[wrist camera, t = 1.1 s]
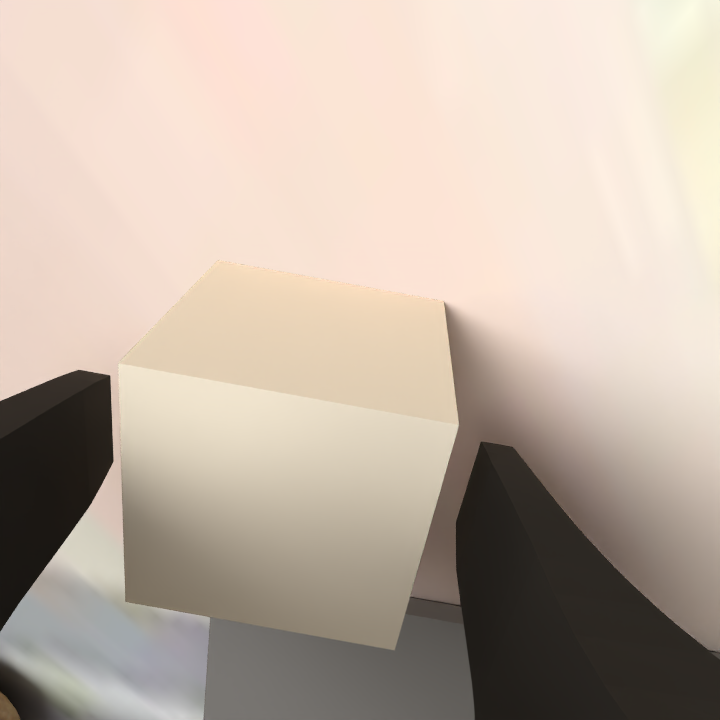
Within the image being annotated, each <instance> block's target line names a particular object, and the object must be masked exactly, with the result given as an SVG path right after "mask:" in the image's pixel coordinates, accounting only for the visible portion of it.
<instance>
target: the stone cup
mask: <svg viewBox="0 0 720 720" xmlns="http://www.w3.org/2000/svg"><path fill="white" fill-rule="evenodd" d="M0 720H20V717H19V715H18V713H17V711H16V709H15V708H14V706H13V705H12V704H11V702H10V701H9V700H8V698H7V697H6V696H5V695H4V694H2V693H1V692H0Z"/></svg>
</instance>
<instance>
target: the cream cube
mask: <svg viewBox="0 0 720 720" xmlns="http://www.w3.org/2000/svg"><path fill="white" fill-rule="evenodd" d="M118 377H119V409H120V441H121V473H122V505H123V537H124V569H125V601H126V602H130V603H135V604H141V605H146V606H152V607H157V608H163V609H168V610H174V611H180V612H185V613H191V614H196V615H202V616H207V617H213V618H218V619H224V620H229V621H235V622H240V623H246V624H252V625H257V626H263V627H268V628H274V629H279V630H285V631H290V632H296V633H301V634H307V635H312V636H318V637H323V638H329V639H335V640H340V641H346V642H351V643H357V644H362V645H368V646H373V647H379V648H384V649H390V650H395V647H396V644H397V640H398V637H399V633H400V630H401V626H402V623H403V619H404V616H405V612H406V609H407V605H408V602H409V598H410V595H411V591H412V588H413V584H414V581H415V577H416V574H417V570H418V567H419V563H420V560H421V556H422V553H423V549H424V546H425V542H426V539H427V535H428V532H429V528H430V525H431V521H432V518H433V514H434V511H435V507H436V504H437V500H438V497H439V493H440V490H441V486H442V483H443V479H444V476H445V472H446V469H447V465H448V462H449V458H450V455H451V451H452V448H453V444H454V441H455V437H456V434H457V430H458V427H459V420H458V412H457V404H456V396H455V388H454V380H453V372H452V364H451V355H450V347H449V339H448V331H447V323H446V315H445V307H444V301H440V300H435V299H429V298H424V297H418V296H413V295H407V294H402V293H396V292H391V291H385V290H380V289H374V288H369V287H363V286H358V285H352V284H347V283H341V282H336V281H330V280H324V279H319V278H313V277H308V276H302V275H297V274H291V273H286V272H280V271H275V270H269V269H264V268H258V267H253V266H247V265H242V264H236V263H231V262H225V261H220V260H218V261H217V262H216V263H215V264H214V265H213V266H212V267H211V268H210V269H209V270H208V271H207V272H206V273H205V274H204V275H203V276H202V277H201V278H200V279H199V280H198V281H197V282H196V283H195V284H194V285H193V286H192V287H191V289H190V290H189V291H188V292H187V293H186V294H185V295H184V296H183V297H182V298H181V299H180V300H179V301H178V302H177V303H176V304H175V305H174V306H173V307H172V308H171V309H170V310H169V311H168V312H167V313H166V314H165V315H164V316H163V317H162V318H161V319H160V320H159V322H158V323H157V324H156V325H155V326H154V327H153V328H152V329H151V330H150V331H149V332H148V333H147V334H146V335H145V336H144V337H143V338H142V339H141V340H140V341H139V342H138V343H137V344H136V345H135V346H134V347H133V348H132V349H131V350H130V351H129V352H128V353H127V355H126V356H125V357H124V358H123V359H122V360H121V361H120V362H119V363H118Z"/></svg>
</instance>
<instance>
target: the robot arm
mask: <svg viewBox="0 0 720 720" xmlns="http://www.w3.org/2000/svg"><path fill="white" fill-rule="evenodd" d="M112 463H113V437H112V411H111V384H110V375H104V374H99V373H93V372H88V371H82V370H77V371H74V372H71V373H68V374H65V375H63V376H60V377H57V378H55V379H52V380H50V381H47V382H45V383H43V384H40V385H38V386H35V387H33V388H31V389H28V390H26V391H24V392H21V393H19V394H16V395H14V396H12V397H9V398H7V399H4V400H2V401H0V631H1V630H2V628H3V626H4V625H5V623H6V622H7V620H8V619H9V617H10V616H11V614H12V613H13V611H14V610H15V608H16V607H17V605H18V604H19V603H20V601H21V600H22V598H23V597H24V596H25V594H26V593H27V592H28V590H29V589H30V588H31V586H32V585H33V583H34V582H35V581H36V579H37V578H38V577H39V575H40V574H41V573H42V571H43V570H44V568H45V567H46V566H47V564H48V563H49V562H50V560H51V559H52V558H53V556H54V555H55V553H56V552H57V551H58V549H59V548H60V547H61V545H62V544H63V543H64V541H65V540H66V538H67V537H68V536H69V534H70V533H71V531H72V530H73V529H74V527H75V526H76V524H77V523H78V522H79V520H80V519H81V518H82V516H83V515H84V513H85V512H86V510H87V509H88V508H89V506H90V505H91V503H92V501H93V499H94V497H95V496H96V494H97V492H98V490H99V488H100V487H101V485H102V483H103V481H104V479H105V477H106V475H107V473H108V471H109V469H110V467H111V465H112ZM456 570H457V578H458V586H459V594H460V601H461V609H462V616H463V623H464V630H465V637H466V644H467V651H468V659H469V666H470V673H471V680H472V690H473V700H474V712H475V720H720V659H719V658H717V657H716V656H715V655H713V654H712V653H711V652H710V651H708V650H707V649H706V648H705V647H703V646H702V645H701V644H700V643H699V642H697V641H696V640H695V639H694V638H692V637H691V636H690V635H689V634H687V633H686V632H685V631H684V630H682V629H681V628H680V627H679V626H678V625H676V624H675V623H674V622H673V621H672V620H671V619H669V618H668V617H667V616H666V615H665V614H664V613H662V612H661V611H660V610H659V609H658V608H657V607H656V606H655V605H653V604H652V603H651V602H650V601H649V600H648V599H647V598H646V597H645V596H644V595H643V594H642V593H641V592H639V591H638V590H637V589H636V588H635V587H634V586H633V585H632V584H631V583H630V582H629V581H628V580H627V579H626V578H625V577H624V576H623V575H622V574H621V573H620V572H619V571H618V570H617V569H616V568H615V567H614V566H613V565H612V564H611V563H610V562H609V561H608V560H607V559H606V558H605V557H604V556H603V555H602V554H601V553H600V552H599V551H598V549H597V548H596V547H595V546H594V545H593V544H592V543H591V542H590V541H589V540H588V539H587V538H586V536H585V535H584V534H583V533H582V532H581V531H580V530H579V528H578V527H577V526H576V525H575V524H574V523H573V522H572V520H571V519H570V518H569V517H568V516H567V514H566V513H565V512H564V511H563V510H562V508H561V507H560V506H559V505H558V504H557V502H556V501H555V500H554V499H553V497H552V496H551V495H550V494H549V492H548V491H547V490H546V489H545V487H544V486H543V485H542V483H541V482H540V481H539V480H538V478H537V477H536V476H535V475H534V473H533V472H532V471H531V469H530V468H529V467H528V466H527V464H526V463H525V462H524V460H523V459H522V458H521V457H520V455H519V454H518V453H517V452H516V451H515V449H514V448H513V447H509V446H504V445H498V444H493V443H487V442H481V444H480V447H479V450H478V453H477V456H476V460H475V463H474V466H473V469H472V473H471V476H470V479H469V482H468V485H467V489H466V492H465V495H464V498H463V502H462V505H461V508H460V511H459V514H458V518H457V521H456Z"/></svg>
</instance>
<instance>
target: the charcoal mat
mask: <svg viewBox="0 0 720 720" xmlns="http://www.w3.org/2000/svg"><path fill="white" fill-rule="evenodd" d="M711 653H712V654H713V655H715V656H716V657H717V658H719V659H720V653H716V652H711ZM204 720H475V712H474V700H473V690H472V680H471V673H470V666H469V659H468V651H467V644H466V637H465V630H464V623H463V616H462V609H461V606H455V605H450V604H444V603H439V602H433V601H427V600H422V599H416V598H411V597H410V598H409V602H408V605H407V609H406V612H405V616H404V619H403V623H402V626H401V630H400V633H399V637H398V640H397V644H396V647H395V650H390V649H384V648H379V647H373V646H368V645H362V644H357V643H351V642H346V641H340V640H335V639H329V638H323V637H318V636H312V635H307V634H301V633H296V632H290V631H285V630H279V629H274V628H268V627H263V626H257V625H252V624H246V623H240V622H235V621H229V620H224V619H218V618H213V617H210V629H209V644H208V660H207V675H206V690H205V706H204Z"/></svg>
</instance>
